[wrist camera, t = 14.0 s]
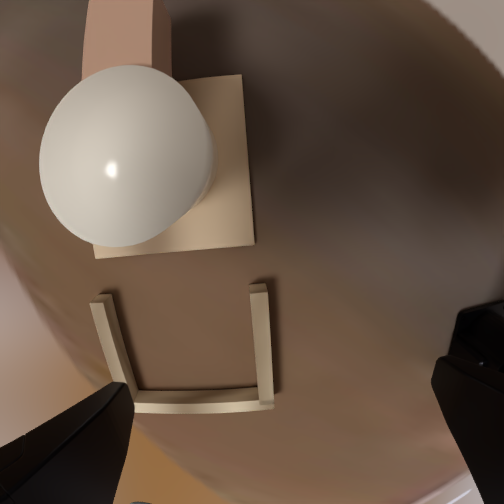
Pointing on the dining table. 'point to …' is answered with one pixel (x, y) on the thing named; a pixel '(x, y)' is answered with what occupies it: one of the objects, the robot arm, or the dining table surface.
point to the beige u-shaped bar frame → (191, 399)
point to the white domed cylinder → (126, 133)
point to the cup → (139, 503)
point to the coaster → (225, 183)
